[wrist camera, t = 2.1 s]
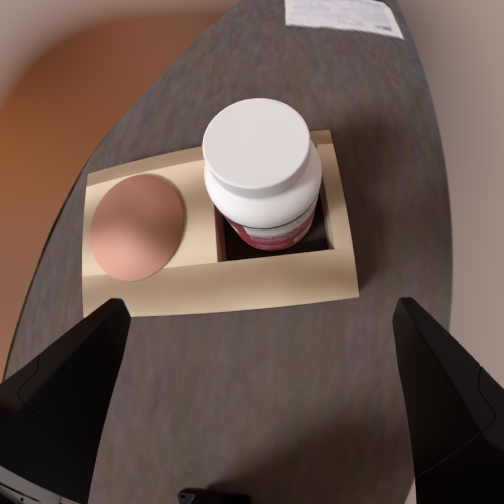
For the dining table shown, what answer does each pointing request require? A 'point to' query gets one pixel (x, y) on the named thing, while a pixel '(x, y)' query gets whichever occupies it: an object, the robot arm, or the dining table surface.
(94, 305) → the board
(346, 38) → the dining table surface
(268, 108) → the pill bottle
